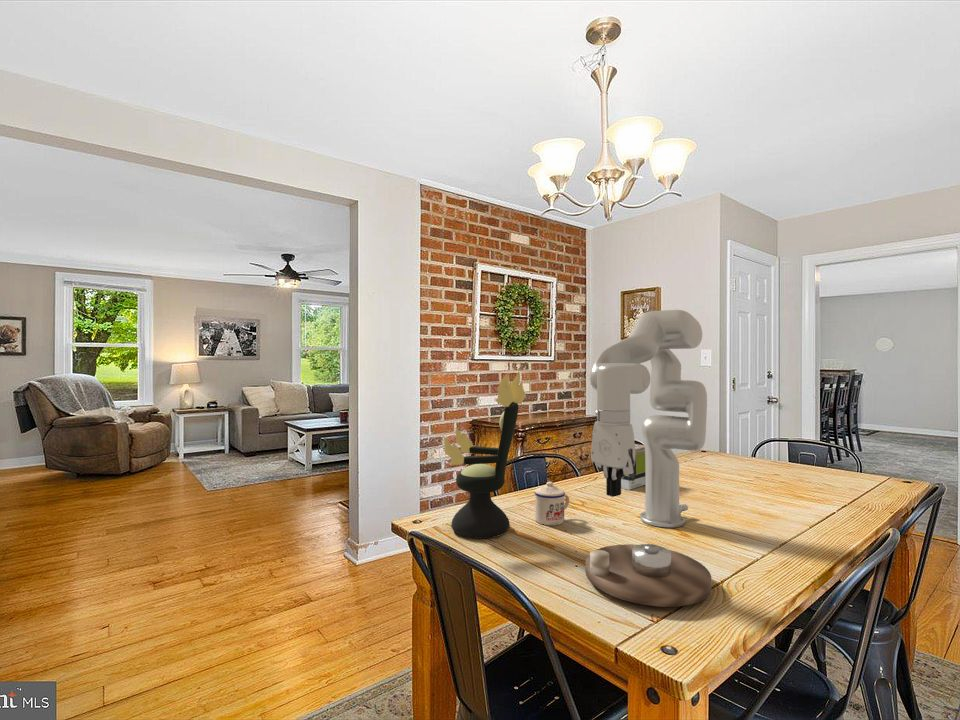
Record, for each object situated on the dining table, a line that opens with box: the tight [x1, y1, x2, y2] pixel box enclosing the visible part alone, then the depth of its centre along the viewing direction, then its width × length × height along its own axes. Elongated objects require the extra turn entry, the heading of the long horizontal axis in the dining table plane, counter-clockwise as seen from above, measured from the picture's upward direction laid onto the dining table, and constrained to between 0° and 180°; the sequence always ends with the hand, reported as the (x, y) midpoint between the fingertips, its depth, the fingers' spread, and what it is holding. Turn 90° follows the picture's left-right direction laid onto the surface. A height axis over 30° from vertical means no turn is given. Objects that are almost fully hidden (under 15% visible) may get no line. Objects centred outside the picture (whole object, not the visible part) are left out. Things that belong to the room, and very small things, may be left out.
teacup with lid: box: [534, 481, 570, 526], centre depth 148 cm, size 12×9×12 cm
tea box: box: [621, 443, 645, 491], centre depth 188 cm, size 15×10×15 cm
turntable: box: [585, 544, 712, 608], centre depth 107 cm, size 26×26×6 cm
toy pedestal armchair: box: [443, 372, 527, 539], centre depth 140 cm, size 19×22×45 cm
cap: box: [632, 543, 671, 578], centre depth 106 cm, size 8×8×5 cm
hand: (613, 495), depth 115 cm, fingers closed
